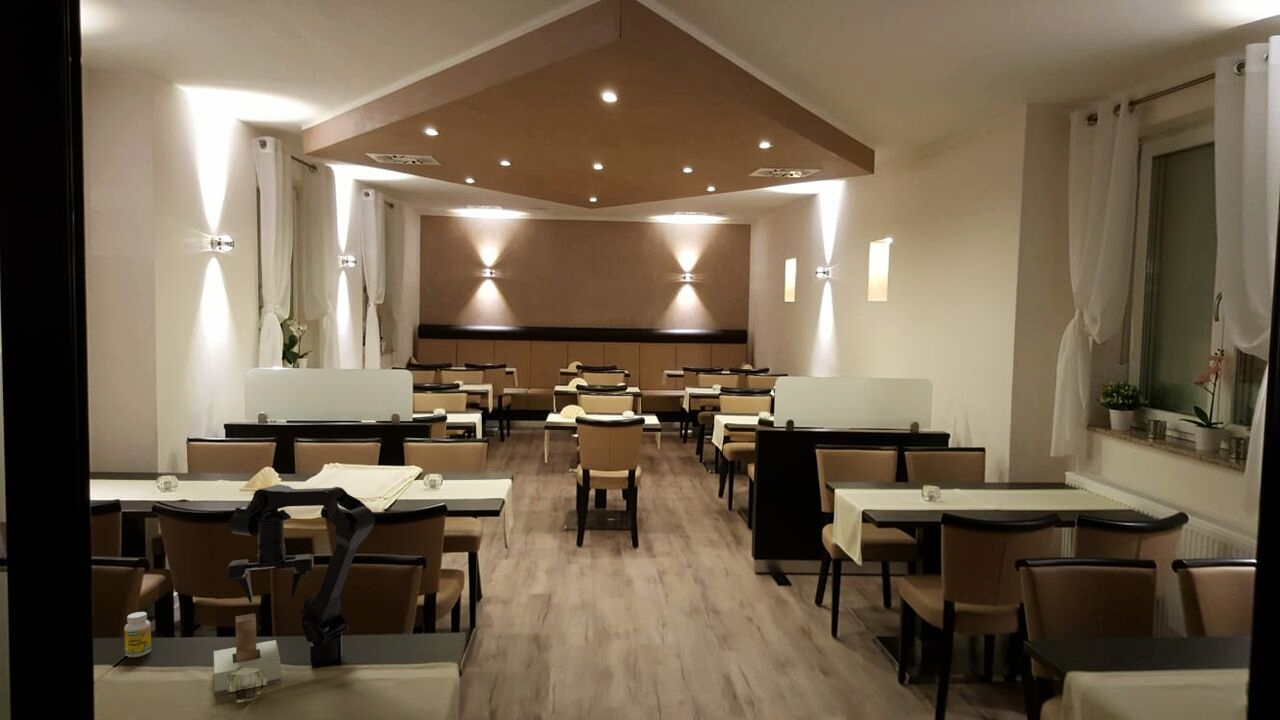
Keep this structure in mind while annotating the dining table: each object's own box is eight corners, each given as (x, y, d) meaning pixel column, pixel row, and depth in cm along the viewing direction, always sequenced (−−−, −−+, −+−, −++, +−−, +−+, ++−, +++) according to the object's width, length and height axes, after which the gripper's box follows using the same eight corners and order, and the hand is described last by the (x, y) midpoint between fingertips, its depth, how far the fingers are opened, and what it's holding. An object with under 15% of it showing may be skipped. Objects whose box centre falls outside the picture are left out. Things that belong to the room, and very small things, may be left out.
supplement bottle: (151, 646, 191) (150, 609, 190) (151, 654, 186) (150, 615, 186) (125, 651, 188) (124, 613, 188) (124, 659, 184) (123, 620, 183)
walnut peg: (256, 668, 177) (255, 613, 176) (256, 675, 173) (255, 619, 173) (236, 672, 175) (235, 616, 174) (237, 679, 172) (236, 622, 171)
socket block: (276, 660, 184) (275, 640, 183) (280, 682, 172) (280, 660, 172) (214, 672, 177) (213, 651, 177) (214, 696, 166) (214, 673, 166)
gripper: (314, 526, 198) (315, 585, 198) (233, 532, 191) (234, 593, 192) (311, 537, 187) (312, 600, 188) (226, 544, 181) (227, 609, 182)
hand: (272, 600), depth 188 cm, fingers open, 9 cm apart
